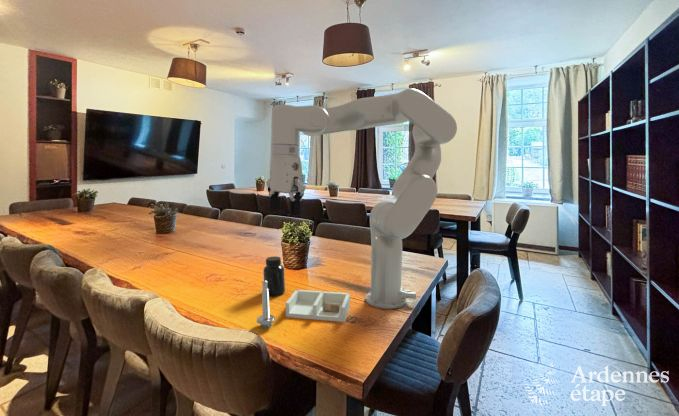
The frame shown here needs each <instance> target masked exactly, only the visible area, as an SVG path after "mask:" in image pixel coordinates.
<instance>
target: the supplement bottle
mask: <svg viewBox="0 0 679 416" xmlns="http://www.w3.org/2000/svg"><path fill="white" fill-rule="evenodd" d="M281 259H282V258H281V257H280V256H269V257H266V258H265V265H266V266H264V267H263V281H264V280H266V281H267V288H268V291H269V292H268V293H269V294H268V295H269V297H277V296H281V295H283V294H284V293H285V291H286V286H285V285H286V284H285V283H286V281H285V280H286V279H285V267H284V266H283V265H282V261H281Z"/></svg>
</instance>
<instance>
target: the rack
mask: <svg viewBox="0 0 679 416" xmlns="http://www.w3.org/2000/svg"><path fill="white" fill-rule="evenodd" d="M324 302H329V303H340V310H339V312H332V311H323V303H324ZM350 308H351V293H349V292H339V291H337V292H335V291H322V290H321V291H320V290H309V289H306V290H305V289H295V290H294V291H293V293H291V296H289V298H288V299H287V300H286V302H285V317H286V318H293V319H294V318H295V319H306V320H317V321H329V322H337V323H338V322H340V323H346V320H347V317H348V314H349V310H350Z"/></svg>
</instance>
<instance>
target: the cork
mask: <svg viewBox="0 0 679 416" xmlns="http://www.w3.org/2000/svg"><path fill="white" fill-rule="evenodd" d="M339 310H340V303H329V302H324V303H323V311H332V312H339Z"/></svg>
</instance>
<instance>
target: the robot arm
mask: <svg viewBox="0 0 679 416" xmlns="http://www.w3.org/2000/svg"><path fill="white" fill-rule="evenodd" d="M406 122H410V123H411V124H412V125H413V127H412V134H411V135H412V139H413V142H414V153H413V156H412V157H411V158H410V161H408V163H407V165H406V166H405V168H404V169H403V171H402V172H401V173H400V174H399V176H398V177H397V179H396V180H395V182H394V183H393V186H392V195H393V197H394V198H395V199H396V200H395V202H392V201H380V202H378V203H377V204H375V205H374V206H373V207H372V209H371V211H370V214H369V229H370V241H371V242H370V245H371V250H370V251H371V252H370V253H371V255H370V292H368V293H366V295H365V302H366V303H367V304H368V305H370V306H371V307H374V308H377V309H378V308H379V309H383V310H393V309H398V308H401V307H403V306H404V305H405V304H406V303H407V299H410V300H411V299H412V300H416V299H417V292H415V291H413V292H412V289H404V288H403V284H402V271H403V270H402V269H403V268H402V267H403V239H406V238H407V237H409V236H410V235H411V234H413V232H414V231H415V230H416V229H417V228H418V226H419V225H420V223H421V222H422V221H423V219H424V217H426V215H427V214H428V212H429V211H430V210H431V208H432V206H433V205H434V203H435V202H436V199H437V196H438V187H437V184H436V182H435V180H434V179H433V178H434V177H435V174H436V173H437V171H438V170H439V168H440V165H441V162H442V148H441V145H443V144H447V143H449V142H450V141H452V140H453V139H454V138H455V136H456V134H457V131H458V127H457V122H456V120H455V118H454V117H453V115H452V114H450V112H449V111H447V110H446V109H444V108H443V107H442V106H441V105H440V104H438V103H437V102H436V101H434V100H433V99H432V98H431V97H429V95H427V94H425V93H424V92H423V91H421V90H419V89H416V88H411V87H409V88H406V89H404V90H401V91H399V92H397V93H391V94H383V95H376V96H369V97H362V98H361V97H360V98H357V99H354V100H351V101H349V102H347V103H344V104H340V105H337V106H333V107H327V108H323V107H322V106H319V105H302V106H301V105H300V106H297V105H296V106H295V105H291V104H277V105H276V104H275V105H274V106H273V107H272V111H271V161H270V167H269V171H270V172H269V178H268V180H266V182H265V183H266V185H267V186H266V187H267V191H268V197H269V211H270V212H274V211H276V212H277V211H280V209H281V197H280V194H281V193H283V194H288V195H289V199H290V200H289V212H288V213H289V214H288V215H289V216H291V217H292V216H294V217H295V216H300V215H301V201H302V200H303V197H304V195H305V191H306V187H307V186H306V184H305V183H303V166H302V160H301V157H300V132H301V133H302V134H304V135H305V136H307V137H308V136H309V137H316V136H321V135H327V134H334V133H340V132H348V131H350V132H351V131H358V130H366V129H370V128H371V129H372V128H379V127H384V126H389V125H396V124H403V123H406Z"/></svg>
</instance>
